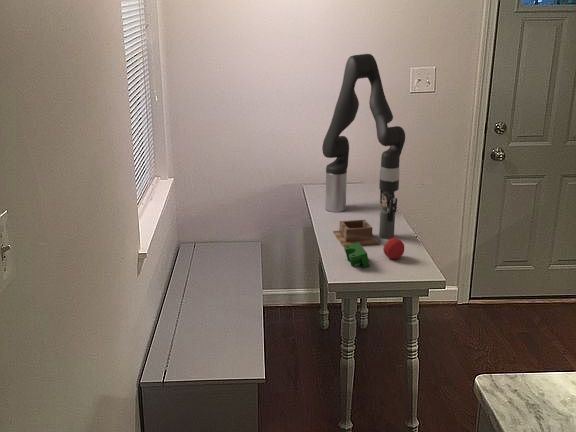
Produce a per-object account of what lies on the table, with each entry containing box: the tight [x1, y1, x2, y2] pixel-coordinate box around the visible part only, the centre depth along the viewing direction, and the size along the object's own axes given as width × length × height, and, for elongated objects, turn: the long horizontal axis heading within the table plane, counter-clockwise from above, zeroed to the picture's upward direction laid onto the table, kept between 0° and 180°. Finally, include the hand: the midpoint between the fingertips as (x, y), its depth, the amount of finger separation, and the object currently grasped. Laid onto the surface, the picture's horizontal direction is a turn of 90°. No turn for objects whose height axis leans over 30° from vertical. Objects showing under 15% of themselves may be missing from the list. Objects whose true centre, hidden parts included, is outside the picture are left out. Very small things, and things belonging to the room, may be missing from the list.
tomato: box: [382, 237, 405, 260], centre depth 244 cm, size 8×8×8 cm
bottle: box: [378, 200, 396, 240], centre depth 265 cm, size 6×6×15 cm
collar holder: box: [332, 219, 380, 248], centre depth 264 cm, size 16×14×6 cm
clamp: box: [343, 242, 371, 268], centre depth 240 cm, size 12×6×9 cm, turn 3°
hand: (387, 218), depth 265 cm, fingers closed on bottle, 6 cm apart
